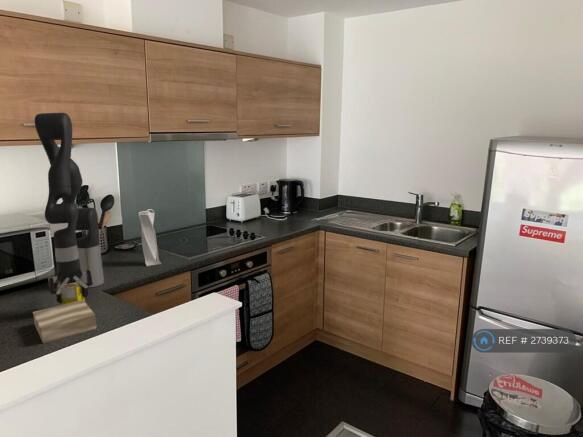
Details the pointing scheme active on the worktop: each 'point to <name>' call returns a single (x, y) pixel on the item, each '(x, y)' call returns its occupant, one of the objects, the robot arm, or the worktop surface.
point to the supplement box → (72, 293)
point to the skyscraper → (149, 238)
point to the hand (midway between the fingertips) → (73, 300)
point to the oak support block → (64, 320)
